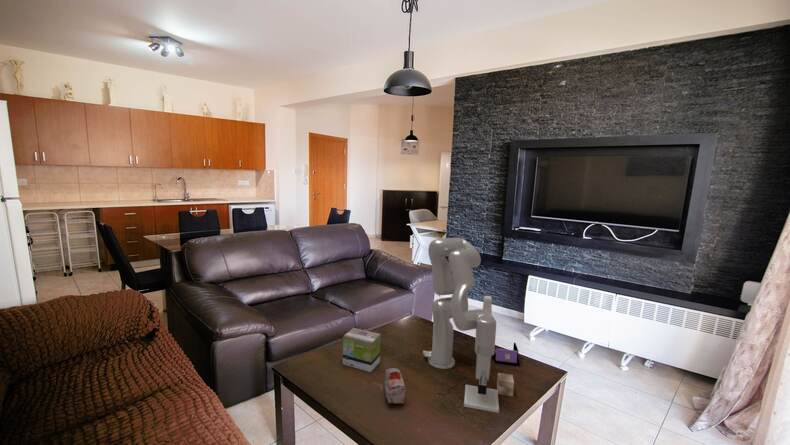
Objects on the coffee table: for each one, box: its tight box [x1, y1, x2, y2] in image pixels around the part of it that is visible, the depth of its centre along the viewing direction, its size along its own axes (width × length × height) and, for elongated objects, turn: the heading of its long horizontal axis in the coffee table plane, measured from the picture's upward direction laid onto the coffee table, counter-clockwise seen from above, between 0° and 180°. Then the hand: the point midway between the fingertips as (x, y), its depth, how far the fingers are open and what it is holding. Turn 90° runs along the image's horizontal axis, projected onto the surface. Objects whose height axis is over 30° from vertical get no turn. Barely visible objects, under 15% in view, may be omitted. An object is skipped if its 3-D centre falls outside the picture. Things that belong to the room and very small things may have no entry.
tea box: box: [342, 327, 382, 373], centre depth 161 cm, size 15×10×15 cm, turn 68°
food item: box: [383, 367, 406, 404], centre depth 139 cm, size 14×8×10 cm, turn 11°
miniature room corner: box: [492, 342, 521, 367], centre depth 172 cm, size 12×12×7 cm
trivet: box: [463, 384, 500, 414], centre depth 139 cm, size 13×13×1 cm
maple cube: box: [496, 372, 515, 397], centre depth 145 cm, size 6×6×6 cm
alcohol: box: [475, 295, 495, 355], centre depth 173 cm, size 9×9×30 cm
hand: (481, 391), depth 138 cm, fingers closed
